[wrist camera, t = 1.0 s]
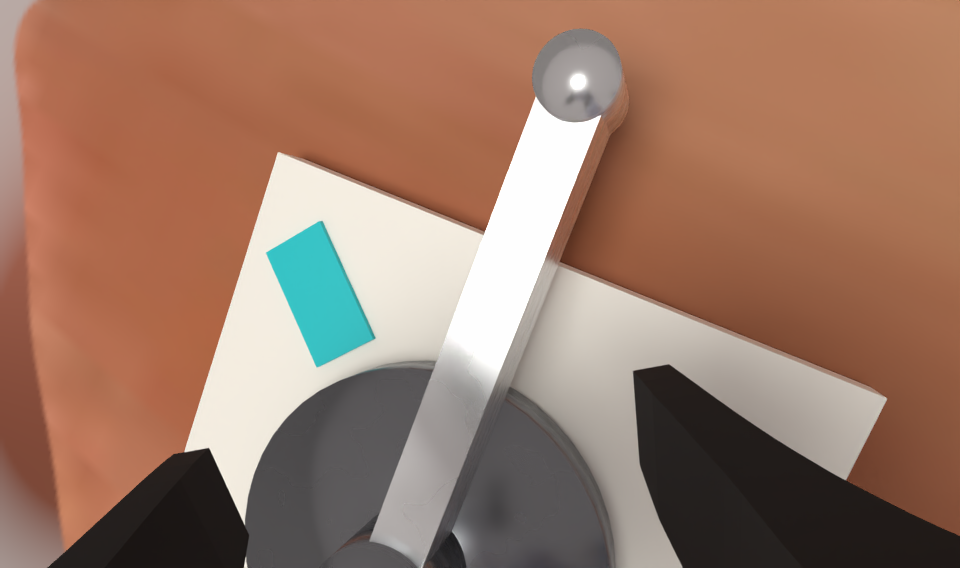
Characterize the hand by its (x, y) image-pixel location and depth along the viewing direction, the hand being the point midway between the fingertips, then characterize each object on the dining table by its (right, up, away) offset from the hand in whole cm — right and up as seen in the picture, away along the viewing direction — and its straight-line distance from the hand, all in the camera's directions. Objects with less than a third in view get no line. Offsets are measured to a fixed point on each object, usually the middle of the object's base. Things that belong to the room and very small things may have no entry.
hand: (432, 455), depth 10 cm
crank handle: (+1, -1, +9) cm, 9 cm away
